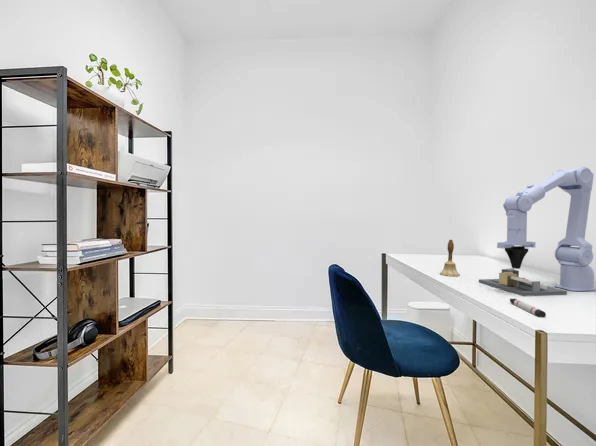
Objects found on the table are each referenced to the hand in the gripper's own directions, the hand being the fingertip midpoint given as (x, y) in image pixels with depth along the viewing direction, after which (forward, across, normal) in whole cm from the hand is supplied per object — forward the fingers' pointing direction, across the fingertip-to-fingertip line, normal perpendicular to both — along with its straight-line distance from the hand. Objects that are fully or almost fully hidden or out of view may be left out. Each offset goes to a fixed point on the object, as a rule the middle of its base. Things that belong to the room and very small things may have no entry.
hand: (515, 268), depth 114 cm
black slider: (+7, -10, -11) cm, 17 cm away
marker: (+9, +15, +17) cm, 25 cm away
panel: (+8, -7, -5) cm, 12 cm away
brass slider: (+7, -2, -5) cm, 9 cm away
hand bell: (+9, 0, -34) cm, 35 cm away
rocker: (+5, -4, +2) cm, 6 cm away
